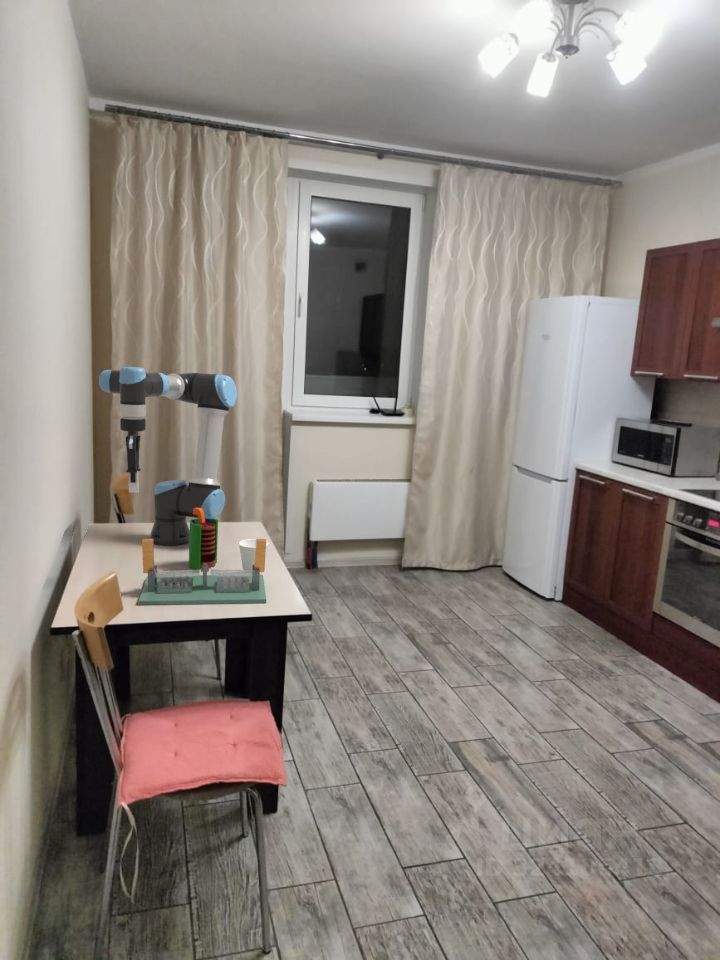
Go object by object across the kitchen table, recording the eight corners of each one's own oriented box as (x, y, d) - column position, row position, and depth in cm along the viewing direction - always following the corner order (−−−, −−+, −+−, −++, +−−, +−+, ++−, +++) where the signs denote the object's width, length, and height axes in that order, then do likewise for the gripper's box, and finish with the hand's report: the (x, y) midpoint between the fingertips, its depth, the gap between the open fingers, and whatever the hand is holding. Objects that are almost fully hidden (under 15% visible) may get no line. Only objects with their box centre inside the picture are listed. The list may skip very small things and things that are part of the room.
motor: (208, 571, 235) (208, 513, 231) (183, 568, 236) (183, 511, 233) (220, 562, 245) (221, 507, 241) (196, 559, 246) (196, 504, 242)
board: (147, 579, 224) (147, 575, 224) (262, 578, 231) (262, 574, 231) (138, 605, 203) (138, 601, 202) (266, 602, 210) (266, 599, 209)
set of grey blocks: (150, 582, 218) (150, 560, 217) (258, 581, 224) (258, 559, 223) (147, 593, 209) (147, 570, 207) (259, 592, 215) (260, 569, 213)
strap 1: (143, 579, 211) (141, 541, 209) (144, 576, 214) (143, 538, 211) (199, 577, 214) (198, 540, 212) (199, 574, 217) (198, 537, 214)
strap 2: (263, 575, 221) (265, 538, 218) (263, 578, 218) (266, 541, 216) (210, 574, 218) (212, 537, 215) (210, 577, 215) (212, 539, 212)
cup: (241, 568, 239) (241, 538, 237) (269, 570, 239) (270, 539, 237) (235, 578, 229) (235, 546, 227) (264, 580, 229) (265, 548, 227)
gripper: (123, 414, 220) (124, 487, 225) (116, 419, 208) (118, 496, 212) (147, 415, 222) (148, 487, 226) (143, 420, 209) (143, 496, 214)
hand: (133, 491), depth 219 cm, fingers closed
